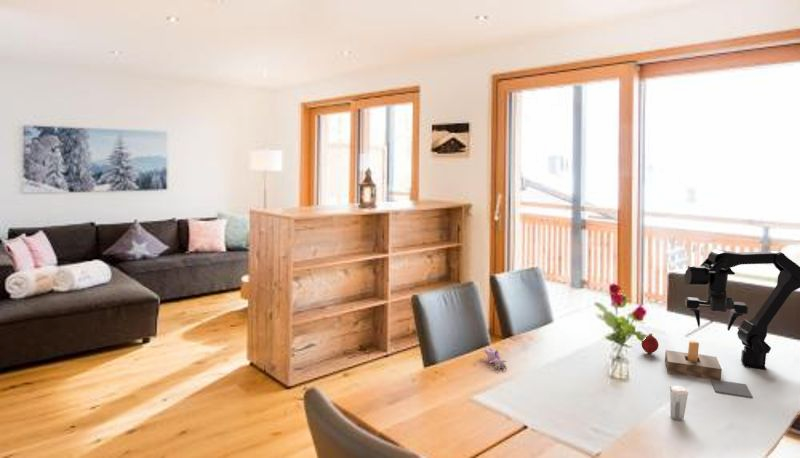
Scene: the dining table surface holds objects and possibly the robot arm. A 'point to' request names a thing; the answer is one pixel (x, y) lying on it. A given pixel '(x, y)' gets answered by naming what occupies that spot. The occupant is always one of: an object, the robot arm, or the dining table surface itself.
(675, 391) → the milkshake
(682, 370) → the hole block
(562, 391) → the dining table surface
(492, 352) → the rabbit figure
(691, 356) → the peg
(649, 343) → the onion
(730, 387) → the mat
